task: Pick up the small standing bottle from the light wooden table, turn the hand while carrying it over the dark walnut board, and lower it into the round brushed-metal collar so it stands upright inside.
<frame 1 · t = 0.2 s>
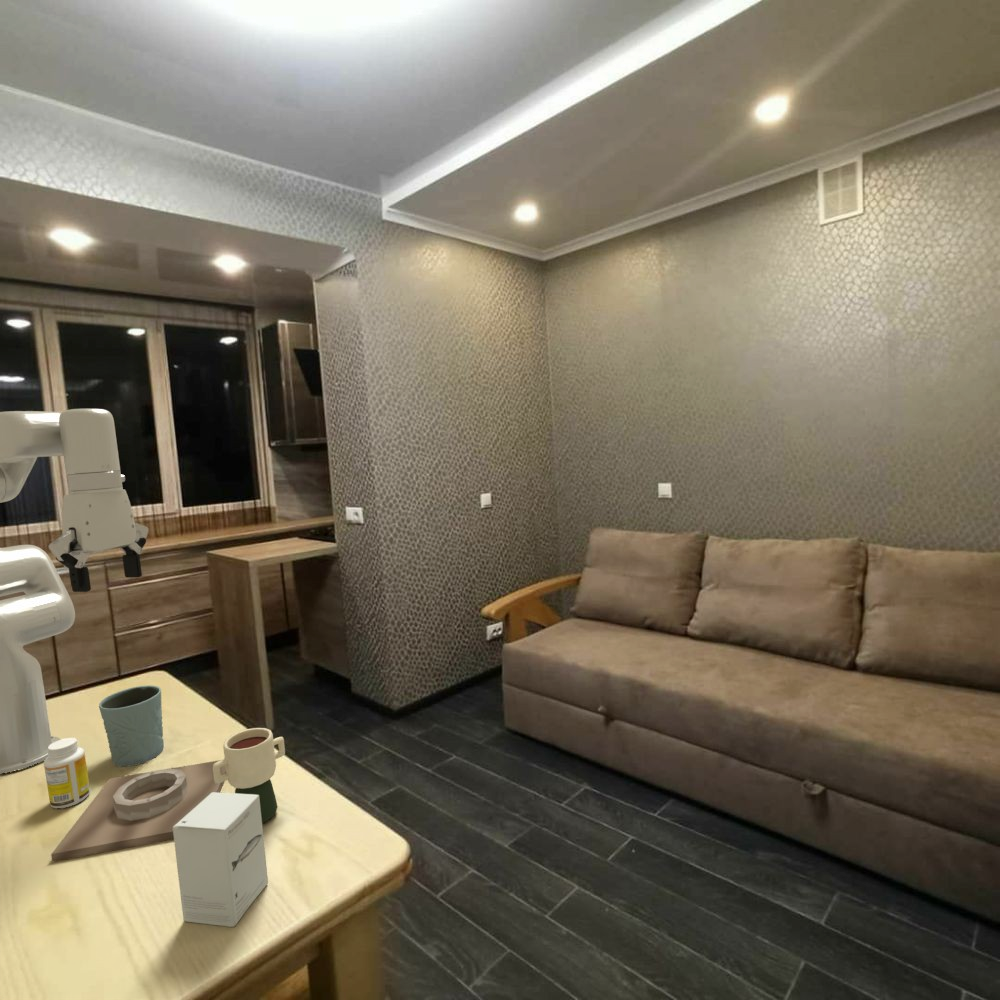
hand: (108, 583, 100), 36 cm above the table, tool pointing down, fingers open, 9 cm apart
character mug: (256, 818, 92), on the table
supplement bottle: (70, 801, 100), on the table
blue-grey plant pot: (138, 756, 114), on the table
collar board: (153, 807, 96), on the table
supplement box: (228, 903, 75), on the table
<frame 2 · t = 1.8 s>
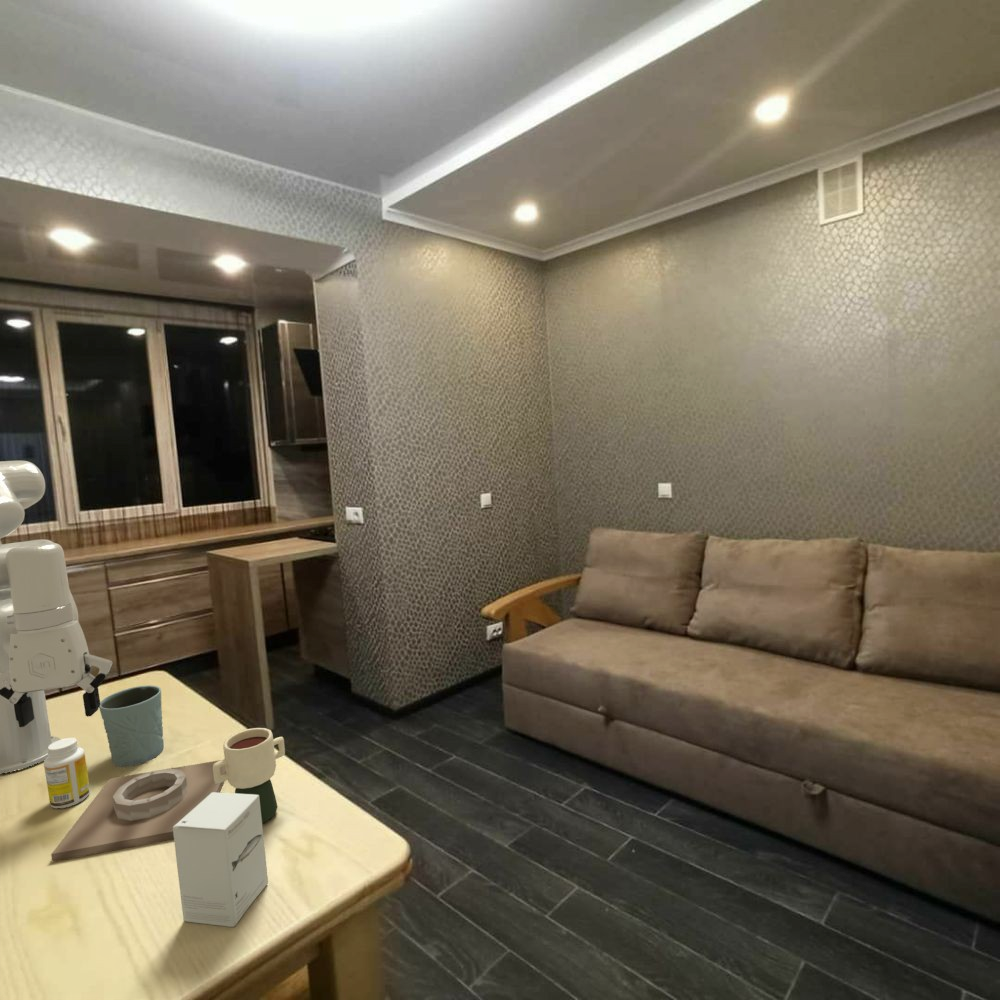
hand: (60, 718, 98), 15 cm above the table, tool pointing down, fingers open, 9 cm apart
nothing on the table moved.
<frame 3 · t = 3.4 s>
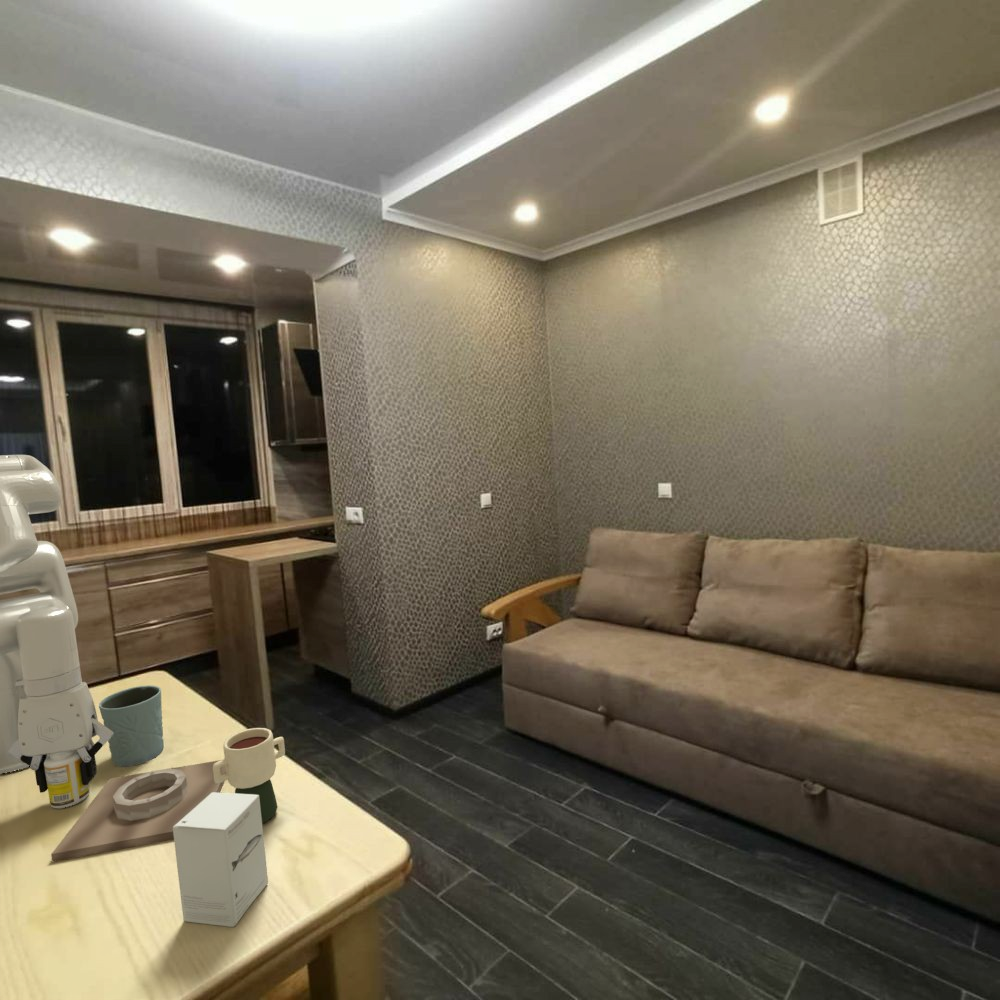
hand: (68, 783, 100), 3 cm above the table, tool pointing down, fingers closed on supplement bottle, 5 cm apart
supplement bottle: (70, 801, 100), on the table, touching gripper
everything else where it was.
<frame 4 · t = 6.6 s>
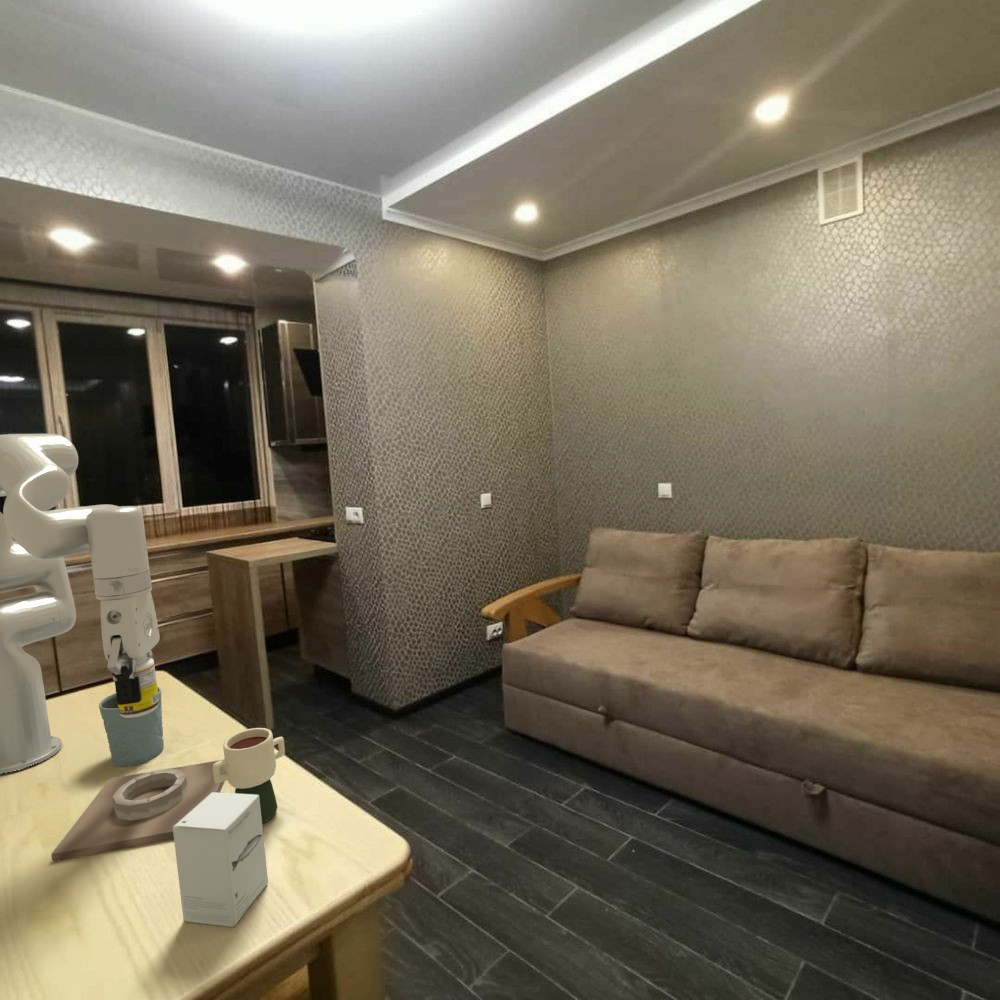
hand: (137, 693, 95), 19 cm above the table, tool pointing down, fingers closed on supplement bottle, 5 cm apart
supplement bottle: (140, 712, 95), point 16 cm above the table, touching gripper
everything else where it was.
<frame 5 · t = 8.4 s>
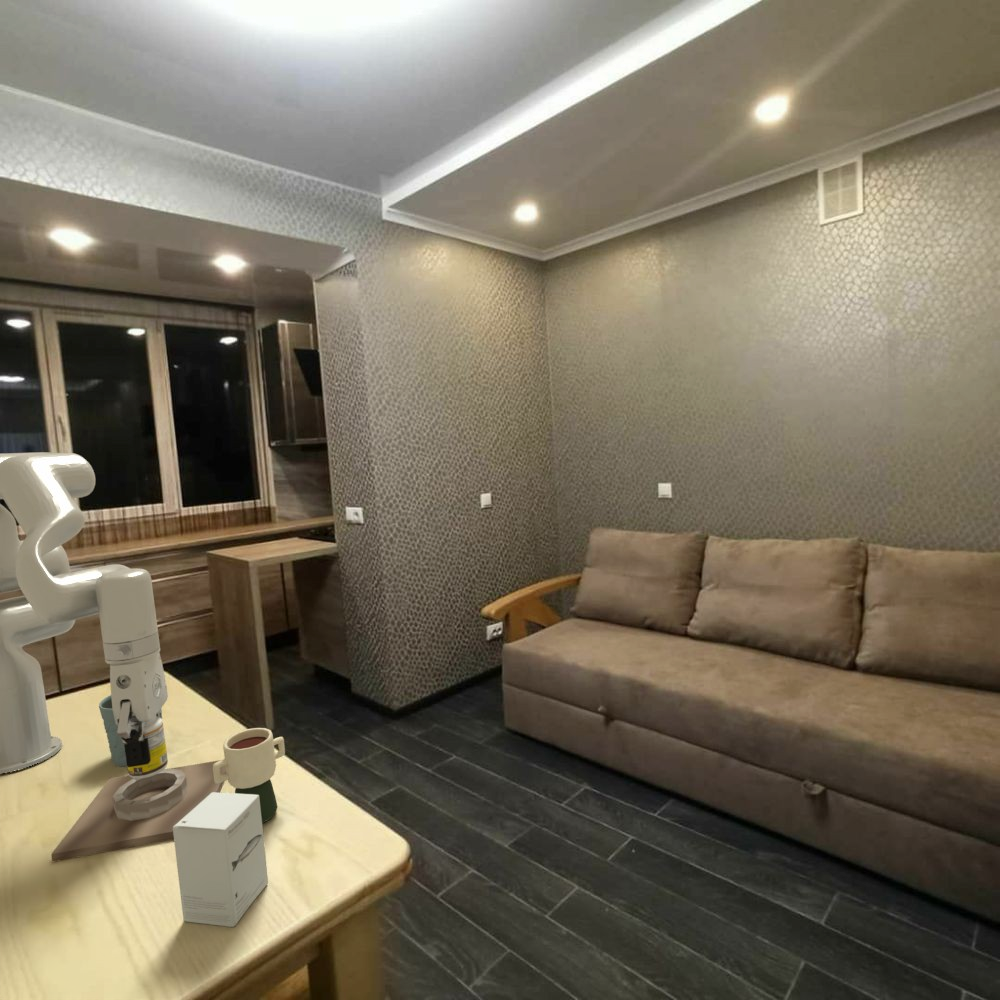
hand: (146, 753, 95), 9 cm above the table, tool pointing down, fingers closed on supplement bottle, 5 cm apart
supplement bottle: (149, 772, 96), point 6 cm above the table, touching gripper
everything else where it was.
when the fingers open (5 cm above the table, at t = 9.7 s): supplement bottle stays where it is, resting on collar board.
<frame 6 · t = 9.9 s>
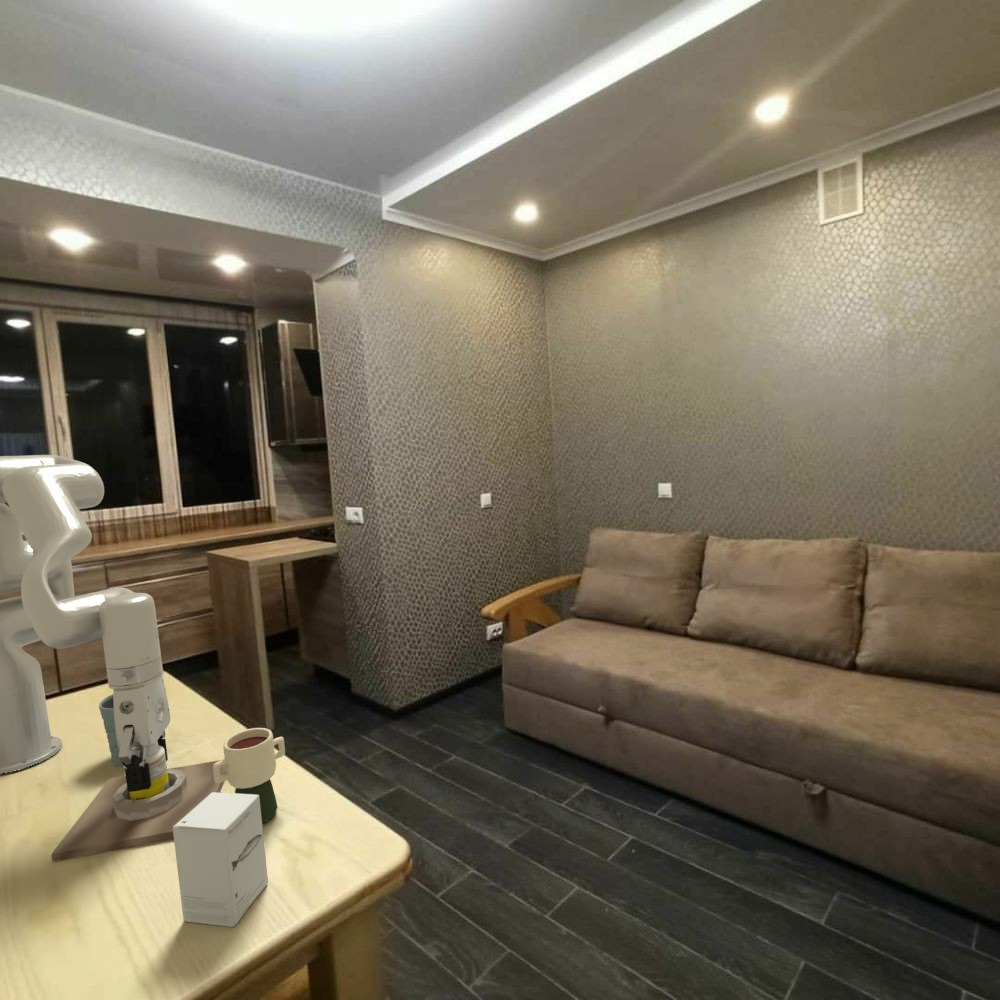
hand: (148, 775, 96), 6 cm above the table, tool pointing down, fingers open, 7 cm apart
supplement bottle: (151, 801, 96), point 1 cm above the table, touching collar board
everything else where it was.
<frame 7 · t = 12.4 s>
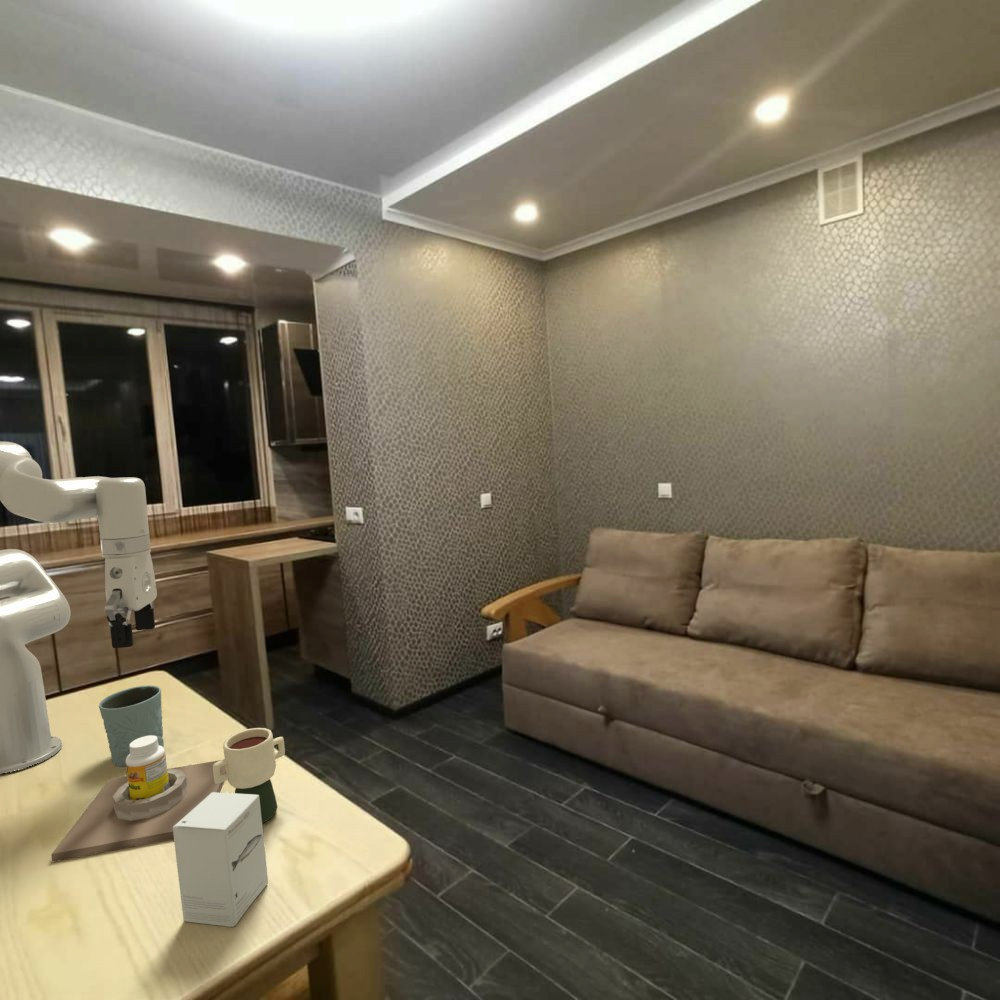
hand: (134, 637, 108), 25 cm above the table, tool pointing down, fingers open, 9 cm apart
nothing on the table moved.
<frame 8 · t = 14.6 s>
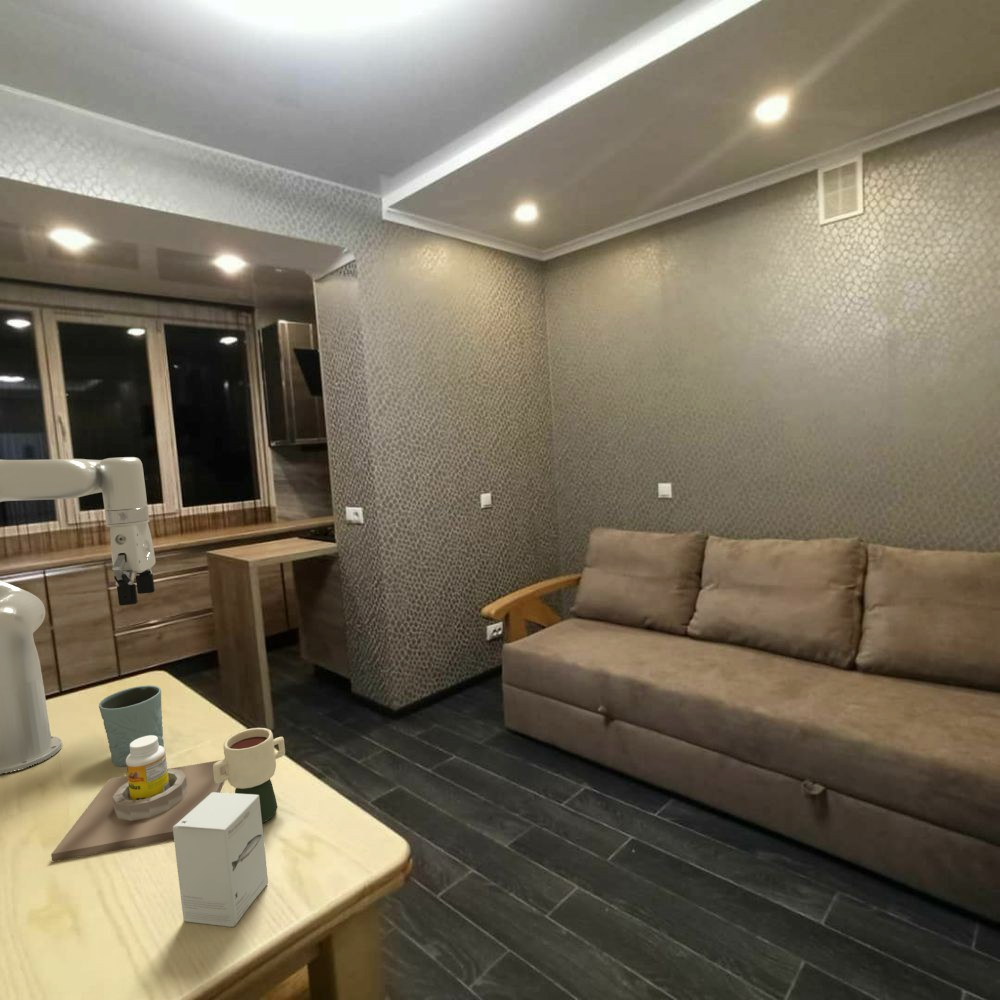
hand: (137, 598, 123), 28 cm above the table, tool pointing down, fingers open, 9 cm apart
nothing on the table moved.
at the end: supplement bottle 0.1 cm off-centre on the collar board, point 1.0 cm above the collar board's base; supplement bottle tilted 0°; the gripper is holding nothing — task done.
